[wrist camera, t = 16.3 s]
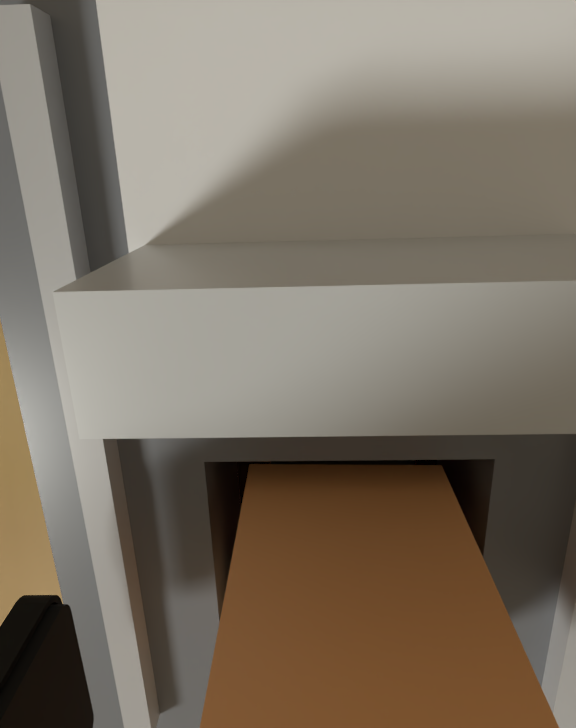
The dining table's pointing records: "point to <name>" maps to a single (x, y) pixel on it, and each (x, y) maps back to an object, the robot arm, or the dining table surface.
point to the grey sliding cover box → (199, 455)
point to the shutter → (334, 222)
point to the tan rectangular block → (364, 608)
